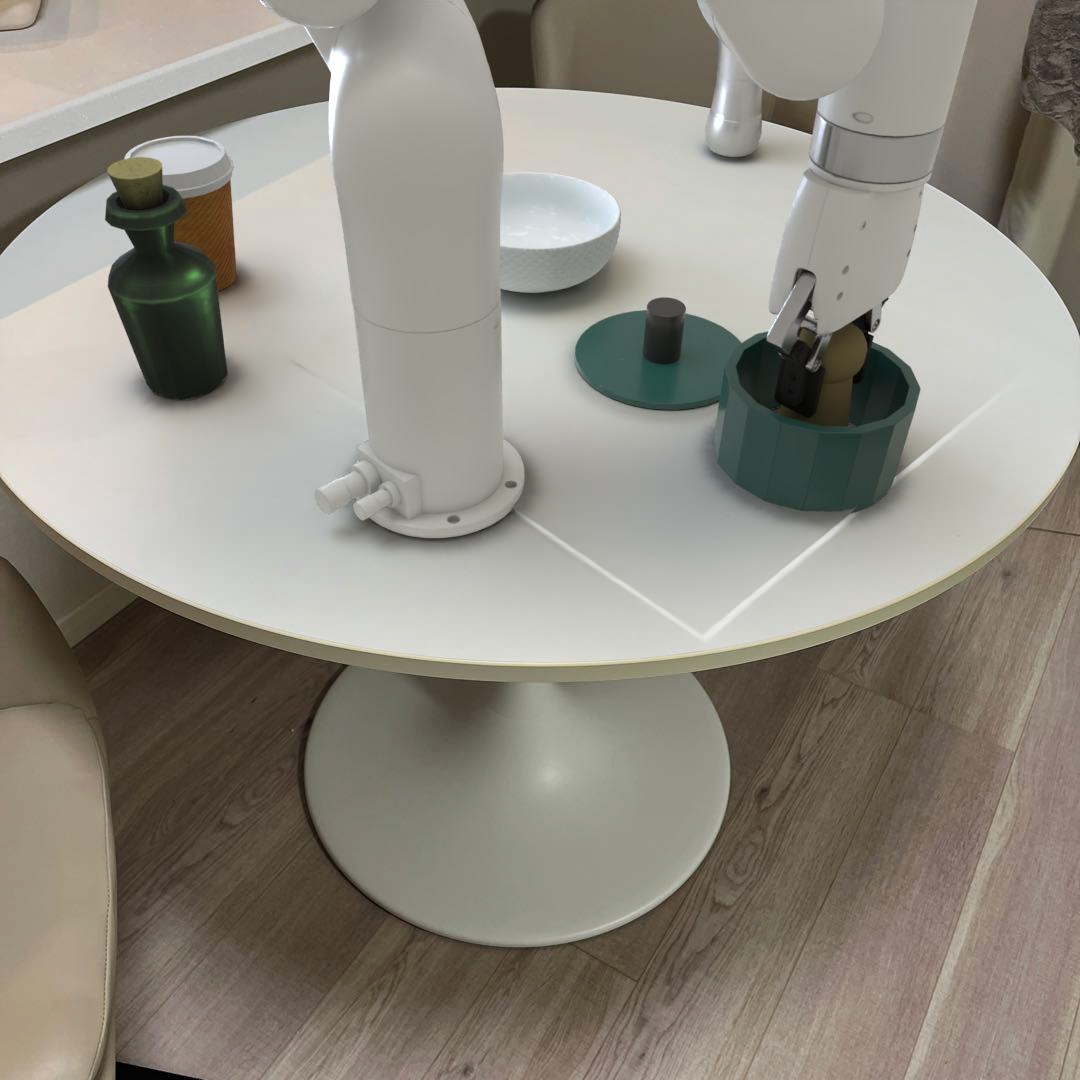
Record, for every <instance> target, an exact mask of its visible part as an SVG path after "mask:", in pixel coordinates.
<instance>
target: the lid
mask: <svg viewBox="0 0 1080 1080" xmlns="http://www.w3.org/2000/svg"><path fill="white" fill-rule="evenodd" d="M686 312H687V307H686V305H685V303H684V302H682V300H679V299H676V298H673V297H668V296H667V297H666V296H662V297H656V298H653V299H651V300H649V301H648V303H647V304H646V309H644V310H643V309H642V310H632V311H626V312H621V313H618V314H614V315H611V316H608V317H605V318H602V319H600V320H599V321H597V322H595V323H593V324H592V325H590V326H589V327H587V329H585V330H584V331H583V332H582V334H581V335H580V336H579V338H578V339H577V341H576V345H575V348H574V363H575V367H576V369H577V371H578V373H579V375H580V376H581V377H582V379H583V380H584V381H585V382H586V383H587V384H588V385H589V386H591V387H592V388H593V389H594V390H596V391H597V392H599V393H601V394H602V395H604V396H606V397H608V398H610V399H612V400H615V401H618V402H620V403H623V404H627V405H629V406H633V407H634V406H635V407H638V408H642V409H643V408H644V409H652V410H661V411H662V410H663V411H679V410H688V409H696V408H701V407H705V406H708V405H712V404H715V403H717V402H719V401H720V394H721V388H722V381H723V375H724V368H725V364H726V362H727V361H728V359H729V357H730V355H731V353H732V351H733V349H734V348H735V347H736V346H737V345H739V344H740V343H742V342H741V341H740V339H739V338H738V337H737V336H736V335H734V334H733V333H732V332H731V331H729V330H728V329H726V328H725V327H724V326H722V325H720V324H718V323H716V322H715V321H711V320H709V319H707V318H704V317H700V316H698V315H693V314H689V313H686Z"/></svg>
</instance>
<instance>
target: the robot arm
mask: <svg viewBox="0 0 1080 1080" xmlns="http://www.w3.org/2000/svg"><path fill="white" fill-rule="evenodd" d="M258 1H259V2H260V3H261V4H262V5H263V7H265V8H267V9H268V10H270V11H271V12H273V13H274V14H276V15H277V16H278V17H280V19H283V20H285V21H287V22H289V23H291V24H294V25H297V26H300V27H304V29H305V31H306V32H307V34H308V36H309V37H310V39H311V41H312V43H313V44H314V46H315V47H316V49H317V51H318V52H319V54H320V56H321V57H322V59H323V61H324V63H325V65H326V66H327V68H328V71H329V72H330V82H329V99H328V101H329V102H328V142H329V153H330V161H331V169H332V175H333V183H334V188H335V192H336V199H337V205H338V210H339V216H340V223H341V229H342V235H343V243H344V251H345V259H346V266H347V267H346V268H347V275H348V282H349V291H350V299H351V305H352V309H353V317H354V326H355V334H356V342H357V352H358V359H359V368H360V377H361V384H362V392H363V401H364V410H365V418H366V427H367V435H368V440H365V441H364V442H362V443H360V444H358V445H357V446H356V454H357V460H356V462H355V463H354V464H352V465H351V466H350V467H349V468H348V474H346V475H343V476H342V477H340V478H335V479H333V480H331V481H330V482H328V483H326V484H324V485H322V486H320V487H318V488H316V489H314V492H313V495H314V500H315V502H316V505H317V506H318V508H319V509H320V510H321V512H323V513H324V514H325V515H328V516H329V515H331V514H333V513H335V512H337V511H339V510H340V509H342V508H343V507H346V506H347V505H349V504H350V503H352V501H353V500H355V502H354V503H352V509H353V512H354V514H355V515H356V517H357V518H358V519H359V520H361V521H365V520H367V519H370V520H371V521H372V522H374V523H376V524H377V525H378V526H380V527H383V528H384V529H386V530H388V531H389V530H390V531H392V532H394V533H397V534H401V535H404V536H409V537H414V538H421V539H423V538H424V539H445V538H447V539H448V538H455V537H461V536H465V535H469V534H472V533H476V532H479V531H481V530H484V529H486V528H488V527H490V526H493V525H494V524H495V523H497V522H499V521H500V520H502V519H504V518H505V517H506V516H507V515H508V514H510V512H511V511H512V510H514V506H515V504H516V503H517V502H518V500H519V499H520V497H521V496H522V493H523V491H524V488H525V478H526V474H525V464H524V462H523V459H522V457H521V454H520V453H519V452H518V451H517V449H516V448H515V446H514V445H513V444H511V443H510V442H509V441H508V440H507V439H505V438H504V419H503V418H504V412H503V411H504V410H503V409H504V407H503V406H504V405H503V404H504V403H503V342H502V340H503V338H502V331H503V330H502V289H501V280H500V221H501V200H502V185H503V173H504V157H505V156H504V155H505V153H504V152H505V151H504V149H505V146H504V145H505V144H504V129H503V121H502V120H503V119H502V115H501V108H500V104H499V103H500V102H499V98H498V95H497V94H498V93H497V90H496V87H495V82H494V79H493V76H492V75H493V74H492V72H491V68H490V65H489V63H488V59H487V55H486V52H485V48H484V45H483V42H482V39H481V36H480V33H479V31H478V28H477V25H476V23H475V21H474V18H473V16H472V14H471V13H470V10H469V9H468V6H467V4H466V2H465V0H258ZM978 1H979V0H696V3H697V5H698V8H699V10H700V12H701V14H702V17H703V18H704V20H705V22H706V23H707V24H708V26H709V27H710V29H711V30H712V31H713V33H714V34H715V35H716V36H717V38H718V37H719V39H720V40H721V41H722V42H723V44H724V45H725V46H726V47H727V48H728V49H729V51H731V52H732V54H733V55H734V56H735V58H736V59H737V60H738V62H739V63H740V65H741V66H742V67H743V69H744V70H745V72H746V73H747V74H748V76H749V77H750V78H751V79H752V80H753V81H754V82H755V83H756V84H757V85H758V86H760V87H761V88H762V89H763V90H764V91H765V92H767V93H769V94H771V95H773V96H775V97H778V98H780V99H786V100H789V101H800V102H801V101H807V102H808V101H811V100H818V101H817V107H816V112H815V113H816V114H815V116H814V117H815V118H814V123H813V129H812V133H811V139H810V144H809V145H810V146H809V151H808V155H807V166H808V169H806V170H805V171H804V172H803V174H802V176H801V179H800V181H799V184H798V186H797V189H796V191H795V194H794V197H793V200H792V204H791V206H790V209H789V212H788V216H787V219H786V223H785V226H784V230H783V234H782V238H781V242H780V245H779V249H778V254H777V258H776V263H775V266H774V271H773V275H772V280H771V285H770V289H769V295H768V302H767V303H768V304H767V306H768V311H769V313H770V314H772V315H777V316H776V317H775V320H774V322H773V324H772V326H771V327H770V329H769V330H768V331H769V332H768V335H767V342H769V343H770V344H771V345H772V346H774V347H775V348H776V350H777V351H778V352H779V354H778V355H779V357H780V358H782V360H781V365H780V370H779V375H778V380H777V386H776V391H775V396H774V398H775V401H776V402H777V403H779V404H781V405H783V406H785V407H787V408H789V409H791V410H793V411H795V412H797V413H799V414H801V415H803V416H805V417H807V418H810V417H812V416H813V415H814V414H815V413H816V410H817V406H818V401H819V397H820V392H821V388H822V384H823V379H824V375H825V370H826V368H823V367H822V366H820V365H821V363H822V360H823V358H824V355H825V352H826V350H827V347H828V345H829V342H830V339H831V337H832V334H833V332H835V331H837V330H839V329H840V328H842V327H844V326H845V325H847V324H849V323H852V324H854V325H855V326H857V327H858V328H859V329H860V330H861V331H862V332H863V334H864V336H865V339H866V342H867V353H866V357H865V361H864V364H863V366H862V367H861V369H860V371H859V372H857V373H856V374H855V375H854V376H853V382H852V383H853V384H858V383H859V382H861V381H862V380H863V377H864V373H865V369H866V365H867V362H868V358H869V354H870V350H871V346H872V342H874V338H875V335H872V334H875V332H876V331H877V330H878V329H879V327H880V324H881V321H882V309H883V307H884V305H885V304H886V302H888V300H890V298H889V297H891V296H892V295H893V294H894V293H895V292H896V290H898V288H899V287H900V285H901V283H902V280H903V278H904V275H905V273H906V269H907V266H908V263H909V259H910V255H911V252H912V248H913V244H914V240H915V235H916V231H917V227H918V222H919V217H920V213H921V207H922V201H923V197H924V196H923V195H924V189H925V184H928V182H929V181H930V179H931V178H932V173H933V170H934V166H935V163H936V159H937V155H938V151H939V149H940V148H939V147H940V144H941V142H942V141H941V140H942V137H943V133H944V129H945V125H946V121H947V117H948V114H949V110H950V108H951V107H950V106H951V103H952V100H953V95H954V92H955V88H956V87H955V86H956V84H957V80H958V77H959V72H960V68H961V65H962V61H963V59H964V54H965V49H966V47H967V43H968V39H969V34H970V31H971V28H972V24H973V20H974V16H975V13H976V8H977V4H978ZM810 311H811V312H812V314H813V317H811V316H809V315H808V313H809V312H810ZM814 318H816V319H818V320H816V319H814ZM802 328H804V329H806V330H808V331H811V332H813V333H815V334H817V335H816V338H815V341H814V343H813V346H812V349H811V348H810V347H809V346H808V345H807V343H805V342H803V341H801V340H800V339H799V337H800V334H801V331H802Z"/></svg>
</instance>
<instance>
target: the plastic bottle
mask: <svg viewBox="0 0 1080 1080" xmlns="http://www.w3.org/2000/svg"><path fill="white" fill-rule="evenodd" d="M717 44H718V45H717V47H718V49H717V50H718V53H717V55H718V56H717V70H716V80H715V86H714V91H713V95H712V101H711V106H710V107H711V108H710V109H709V112H708V115H707V117H706V118H707V120H706V122H705V129H704V131H705V143H706V144H707V146H708V148H709V150H710V151H711V152H713V153H714V154H717V155H720V156H723V157H729V158H741V157H747V156H750V155H751V154H753V153H754V151H755V150H756V149H757V148H758V145H759V144H760V141H761V137H762V135H763V134H762V133H763V115H762V103H763V90H764V89H762V88H761V87H760V86H758V85H757V84H756V83H755V82H754V81H753V80H752V79H751V78H750V77H749V76H748V74H747V73H746V72H745V70H744V69H743V67H742V66H741V65H740V63H739V62H738V60H737V59H736V58H735V56H734V55H733V54H732V52H731V51H729V49H728V48H727V47H726V46H725V45H724V44H723V42H722V41H721V40H720V39H719V37H718V36H717Z"/></svg>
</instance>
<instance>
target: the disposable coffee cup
mask: <svg viewBox="0 0 1080 1080" xmlns="http://www.w3.org/2000/svg"><path fill="white" fill-rule="evenodd" d="M136 157H148V158H153V159H157V160H159V161H160V162H161V163H162V177H163V185H166V186H169V187H173V188H174V189H175V190H177V191H178V192H179V194H180V195H181V197H182V199H183V200H184V202H185V204H186V205H187V212H186V213H185V215H184V216H183V217H182V218H181V219H180V220H178V221H176V222H174V241H175V242H179V243H184V244H187V245H190V246H193V247H196V248H199V249H200V250H201V251H202V252H203V253H204V254H205V255H206V256H207V257H208V258H209V259H210V260H211V261H212V262H213V263H214V265H215V271H216V279H217V288H218V292H219V291H221V290H224V289H226V288H227V287H229V286H231V285H232V284H233V283H234V282H235V281H236V279H237V276H238V275H237V259H236V245H235V231H234V230H235V228H234V212H233V197H232V183H231V182H232V181H231V179H232V176H233V171H234V168H235V167H234V166H235V165H234V161H233V159H232V158H231V156H229V155H228V153H227V150H226V149H225V146H224V145H223V144H221V143H220V142H218V141H217V140H215V139H212V138H210V137H205V136H197V135H174V136H167V137H165V136H164V137H160V138H155V139H152V140H147V141H145V142H143V143H141V144H138V145H136V146H133V148H131V149H130V150H129V151H127V153H126V154H125V156H124V159H128V158H136ZM124 159H123V160H124Z"/></svg>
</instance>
